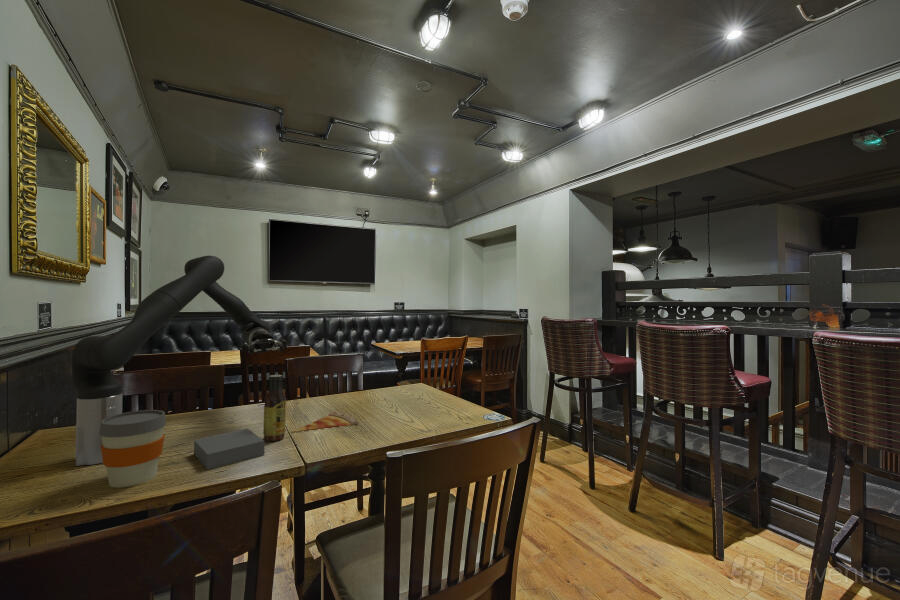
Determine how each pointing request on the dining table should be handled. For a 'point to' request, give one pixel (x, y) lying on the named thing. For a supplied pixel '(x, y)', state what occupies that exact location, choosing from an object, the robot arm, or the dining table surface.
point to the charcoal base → (228, 448)
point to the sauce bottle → (274, 410)
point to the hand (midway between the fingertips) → (267, 349)
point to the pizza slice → (329, 422)
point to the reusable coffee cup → (132, 446)
